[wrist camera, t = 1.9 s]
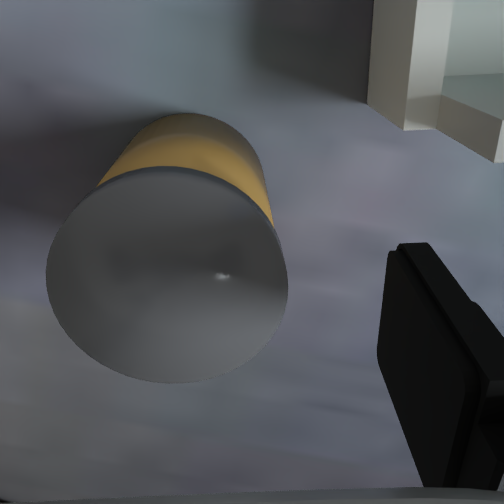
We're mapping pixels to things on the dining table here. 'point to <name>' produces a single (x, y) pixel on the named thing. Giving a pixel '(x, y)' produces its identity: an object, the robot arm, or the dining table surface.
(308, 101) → the dining table surface
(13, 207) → the dining table surface
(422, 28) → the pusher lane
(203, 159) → the amber jar
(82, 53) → the dining table surface
